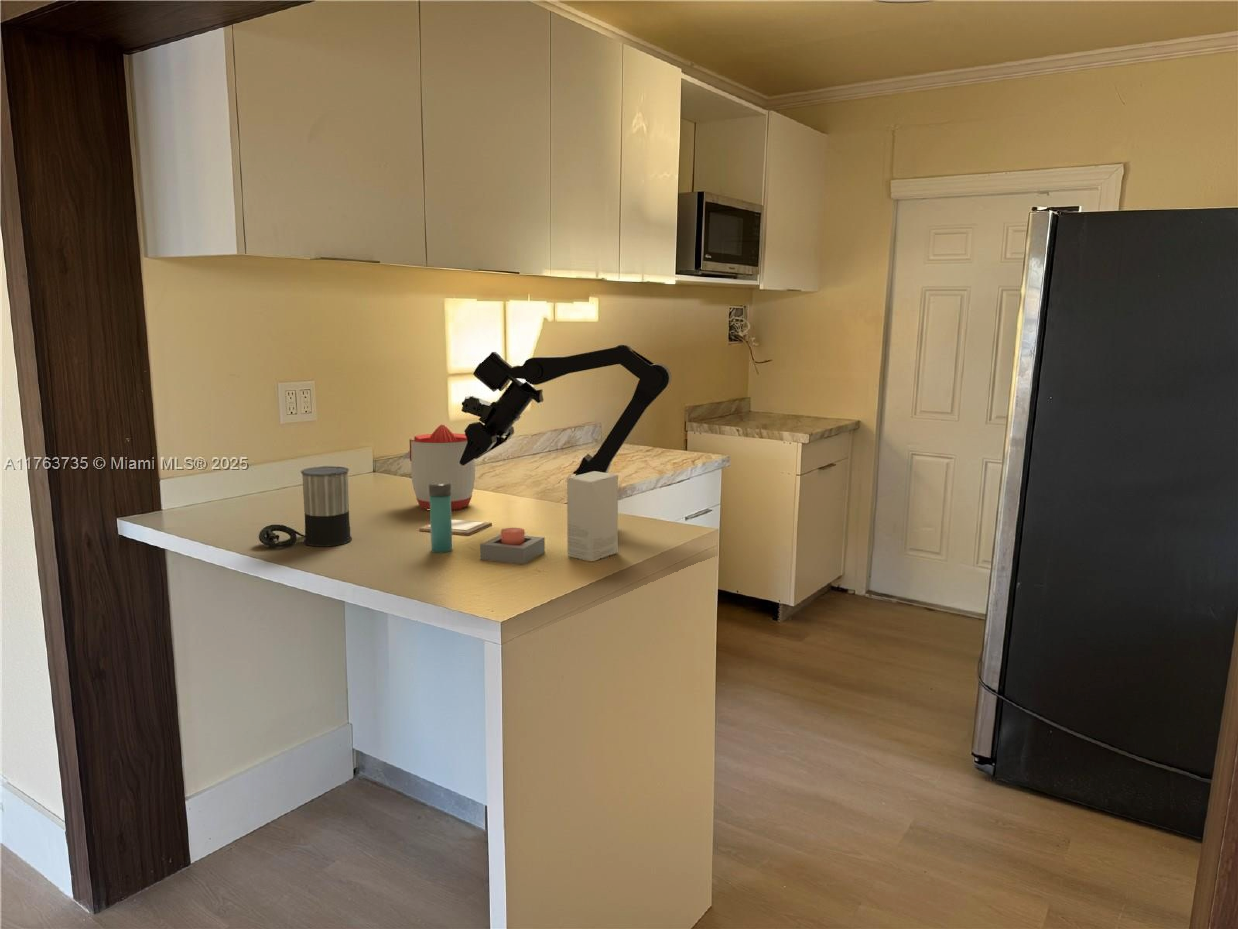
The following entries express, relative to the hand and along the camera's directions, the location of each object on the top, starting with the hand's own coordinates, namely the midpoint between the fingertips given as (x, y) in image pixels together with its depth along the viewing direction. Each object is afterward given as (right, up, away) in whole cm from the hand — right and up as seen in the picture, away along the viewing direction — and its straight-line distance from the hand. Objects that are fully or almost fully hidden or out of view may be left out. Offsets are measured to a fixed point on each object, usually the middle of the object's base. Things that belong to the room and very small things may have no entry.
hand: (467, 460), depth 185 cm
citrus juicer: (-10, -11, +21) cm, 26 cm away
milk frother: (-30, -17, -14) cm, 37 cm away
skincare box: (+28, -18, -22) cm, 40 cm away
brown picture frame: (-2, -14, -1) cm, 15 cm away
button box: (+13, -18, -23) cm, 32 cm away
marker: (-2, -17, -19) cm, 26 cm away
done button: (+13, -16, -24) cm, 31 cm away
